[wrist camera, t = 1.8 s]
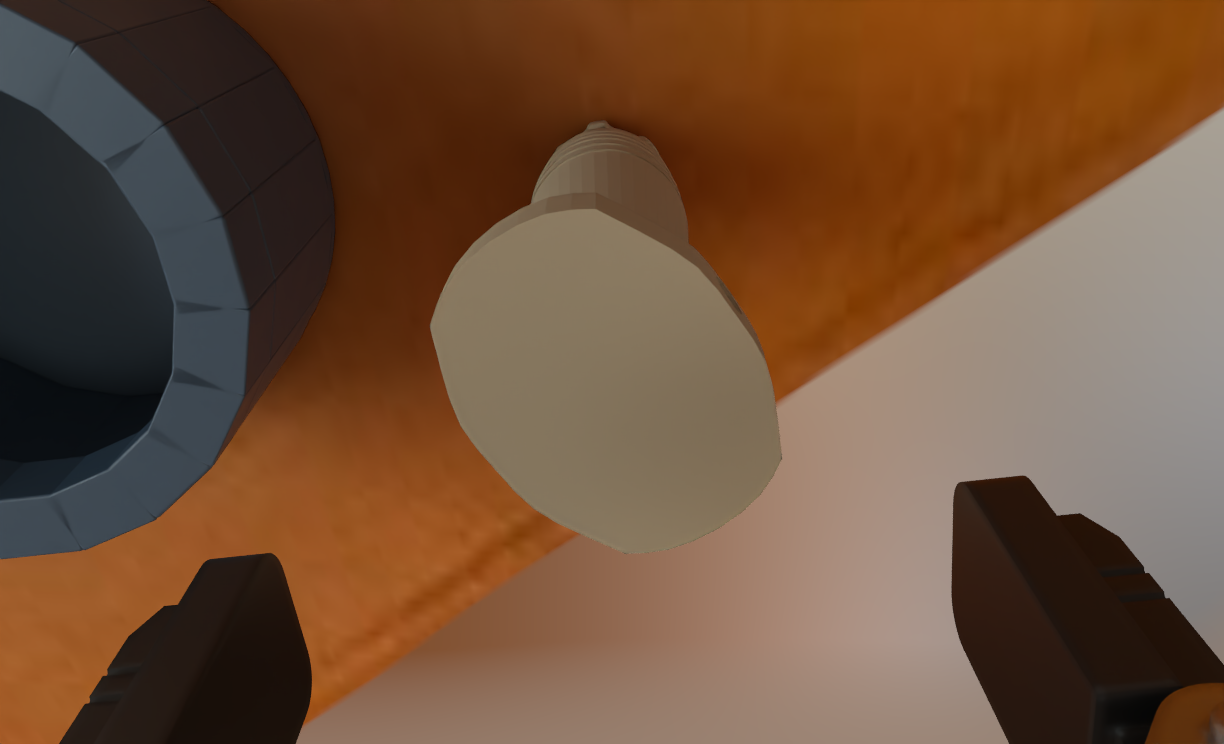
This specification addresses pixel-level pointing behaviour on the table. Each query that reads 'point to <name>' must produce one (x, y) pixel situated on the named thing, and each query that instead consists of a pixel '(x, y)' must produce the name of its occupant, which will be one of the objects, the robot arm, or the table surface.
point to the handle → (608, 355)
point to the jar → (142, 256)
